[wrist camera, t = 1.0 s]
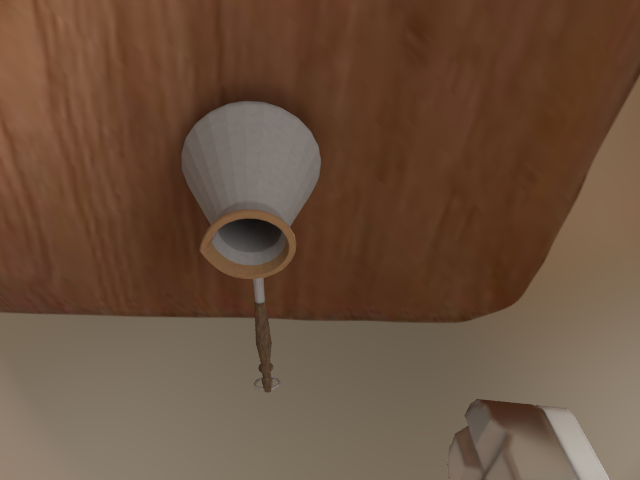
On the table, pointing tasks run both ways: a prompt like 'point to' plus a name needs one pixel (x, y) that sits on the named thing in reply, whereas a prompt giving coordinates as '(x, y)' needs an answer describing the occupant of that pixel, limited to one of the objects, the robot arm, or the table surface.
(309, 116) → the table surface
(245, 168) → the coffee pot
